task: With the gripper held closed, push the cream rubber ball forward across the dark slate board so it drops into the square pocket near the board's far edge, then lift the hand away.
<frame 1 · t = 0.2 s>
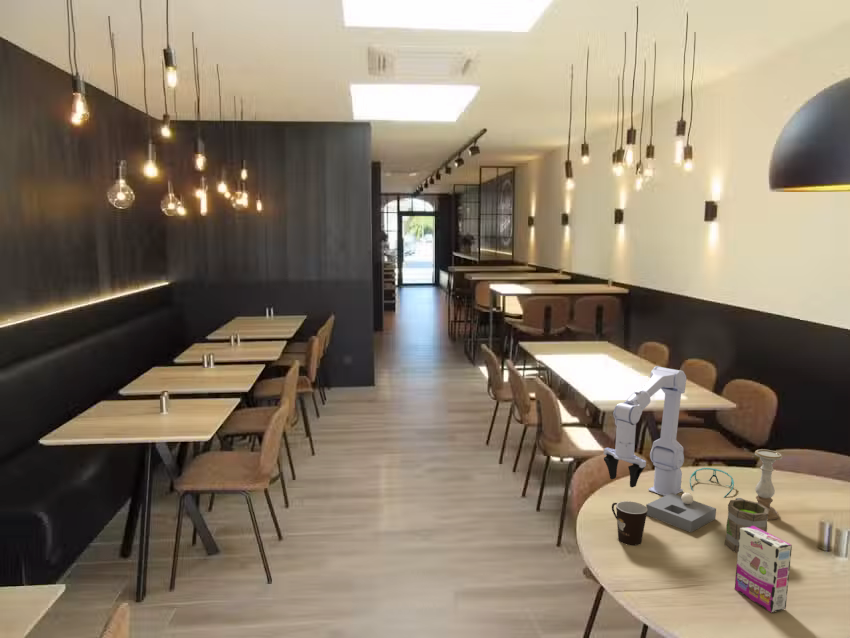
hand: (622, 482, 201), 10 cm above the table, tool pointing down, fingers open, 7 cm apart
candy bar box: (759, 599, 155), on the table
coffee mug: (628, 538, 185), on the table
teal safety glasses: (711, 488, 224), on the table
deck: (680, 516, 200), on the table
mug: (742, 543, 183), on the table
candle holder: (762, 514, 203), on the table
ball: (687, 498, 201), point 5 cm above the table, touching deck
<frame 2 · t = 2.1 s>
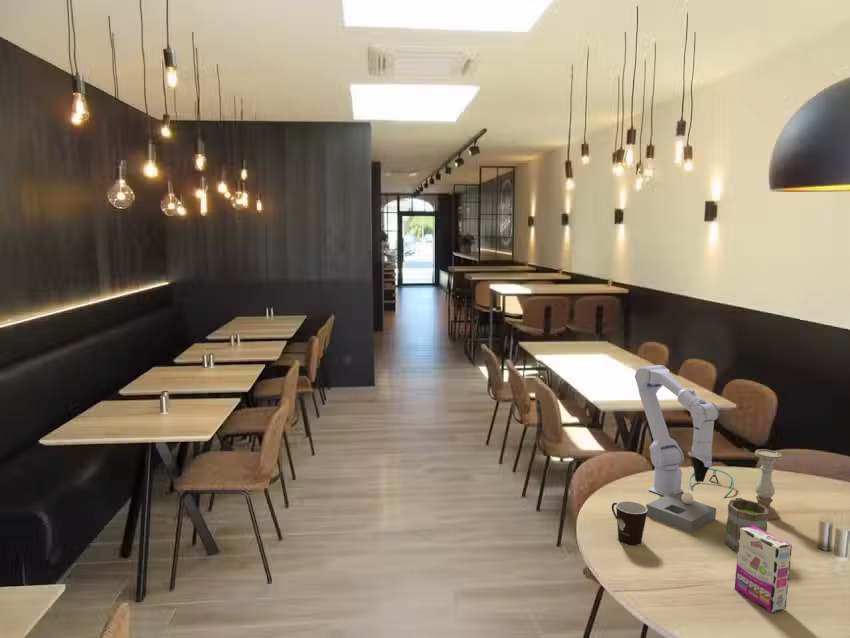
hand: (699, 480, 205), 9 cm above the table, tool pointing down, fingers closed
nothing on the table moved.
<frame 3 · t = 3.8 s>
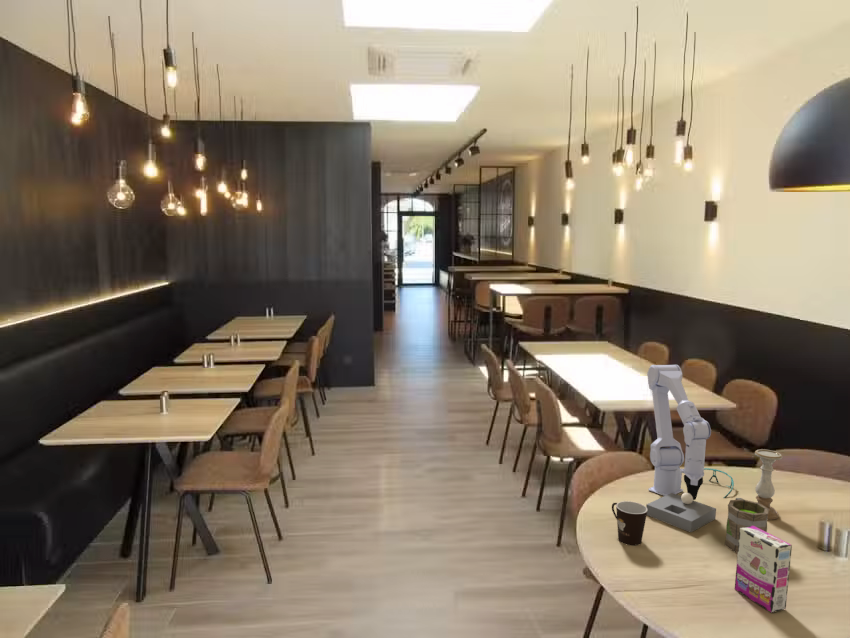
hand: (691, 498, 203), 4 cm above the table, tool pointing down, fingers closed, pressing on ball
ball: (687, 498, 201), point 5 cm above the table, touching deck, gripper
everything else where it was.
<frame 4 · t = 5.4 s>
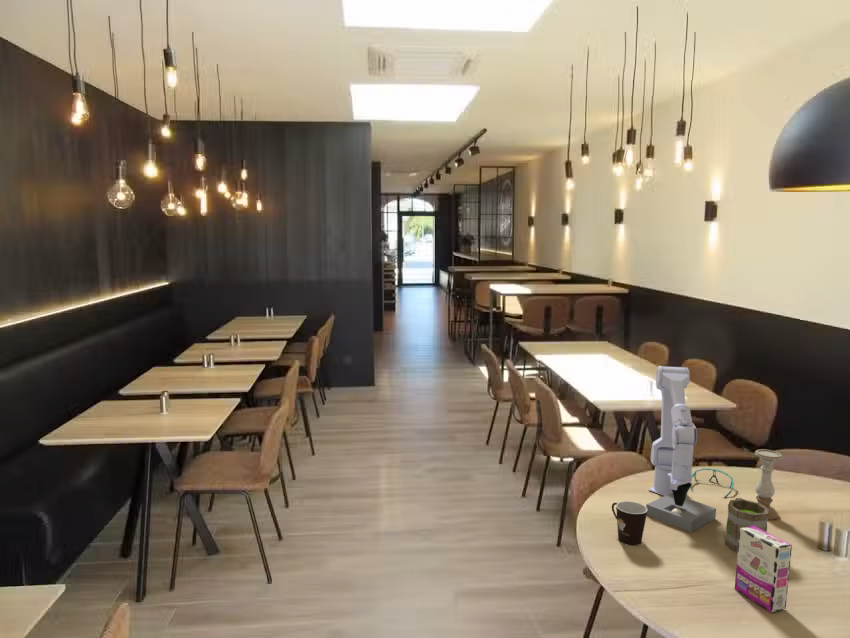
hand: (679, 505, 198), 4 cm above the table, tool pointing down, fingers closed
ball: (676, 514, 197), point 2 cm above the table, tilted 62°
everything else where it was.
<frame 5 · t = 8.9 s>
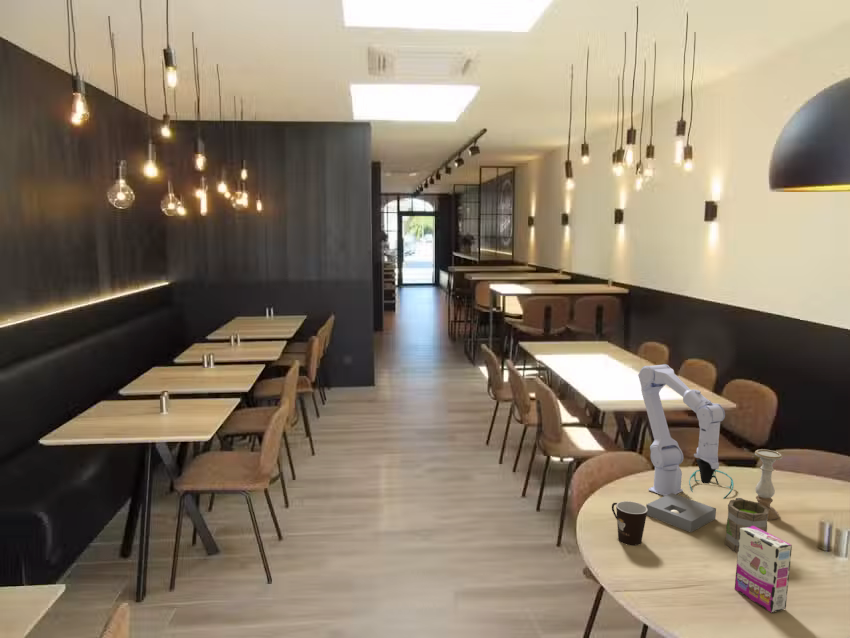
hand: (705, 482, 203), 9 cm above the table, tool pointing down, fingers closed
ball: (674, 515, 197), point 2 cm above the table, tilted 89°
everything else where it was.
at the end: ball 0.8 cm from the target spot on the deck, point 1.7 cm above the deck's base; ball moved 8.5 cm from its start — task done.
